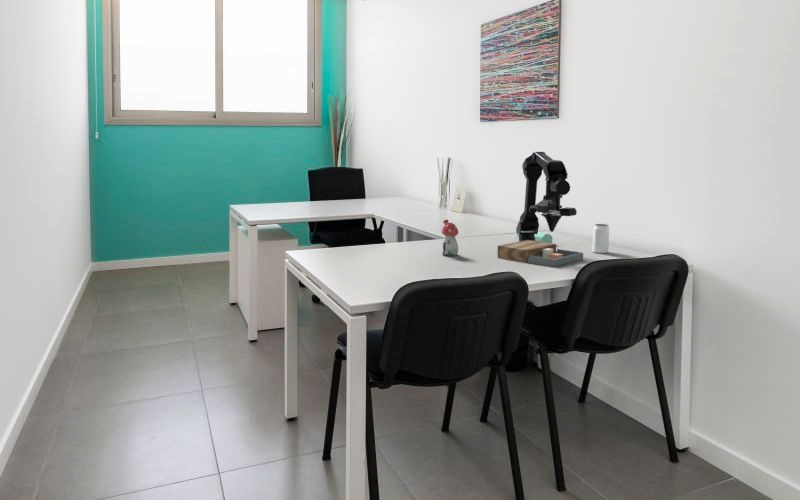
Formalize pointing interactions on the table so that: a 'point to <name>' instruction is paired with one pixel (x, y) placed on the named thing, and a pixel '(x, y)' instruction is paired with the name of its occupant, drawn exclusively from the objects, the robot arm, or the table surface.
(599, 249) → the can
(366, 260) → the table surface
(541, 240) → the container
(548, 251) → the cream tile
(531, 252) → the walnut plate
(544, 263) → the box
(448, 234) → the decorative ornament
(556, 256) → the terracotta tile
